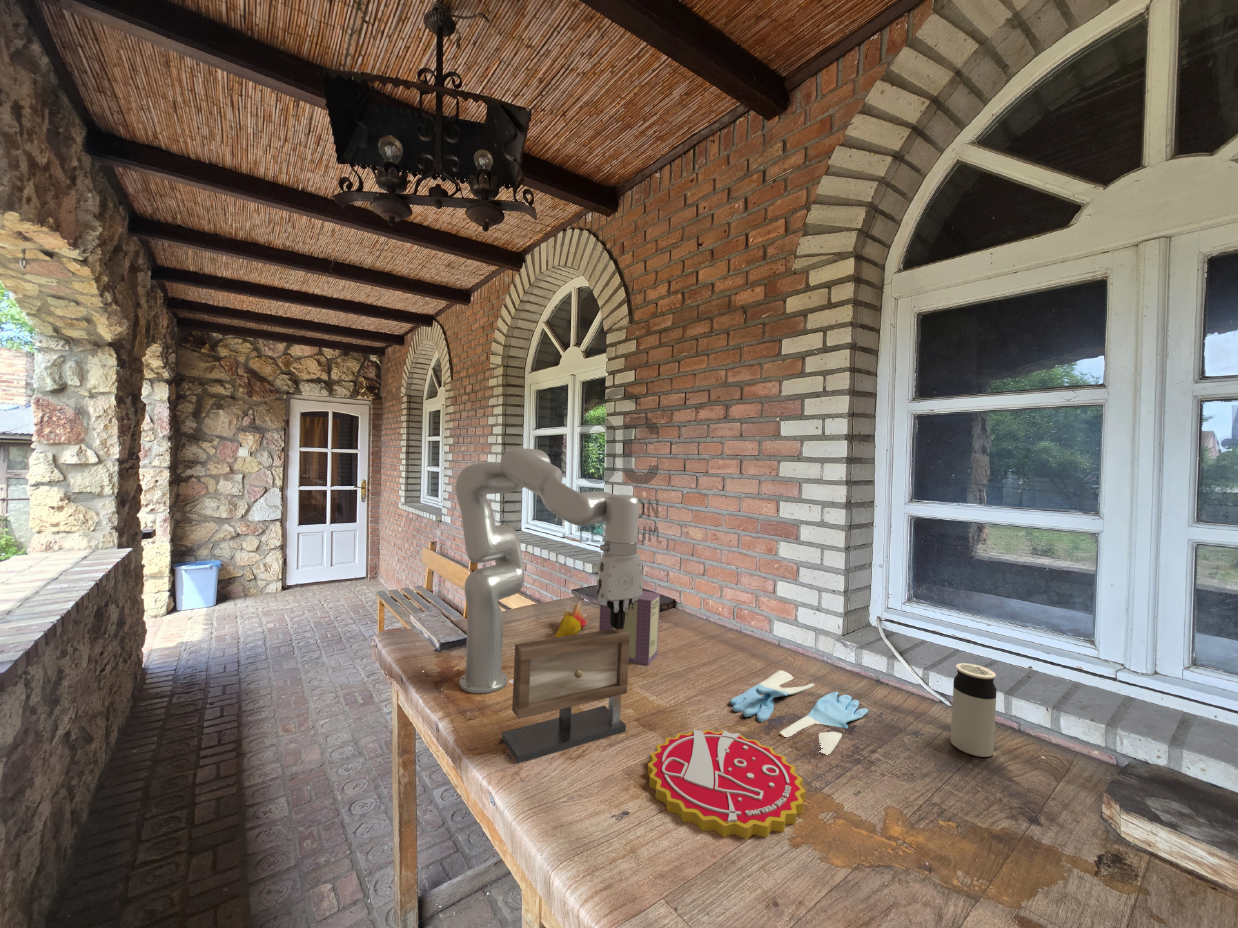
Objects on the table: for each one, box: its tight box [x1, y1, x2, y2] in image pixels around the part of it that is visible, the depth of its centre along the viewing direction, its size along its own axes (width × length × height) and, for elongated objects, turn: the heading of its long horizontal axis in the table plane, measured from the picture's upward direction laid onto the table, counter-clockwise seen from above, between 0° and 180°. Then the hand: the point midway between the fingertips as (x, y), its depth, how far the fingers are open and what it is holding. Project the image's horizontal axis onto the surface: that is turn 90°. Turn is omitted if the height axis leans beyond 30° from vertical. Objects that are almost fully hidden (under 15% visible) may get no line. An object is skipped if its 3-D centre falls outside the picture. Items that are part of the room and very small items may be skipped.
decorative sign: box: [647, 729, 806, 840], centre depth 100 cm, size 30×3×30 cm
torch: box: [554, 600, 590, 638], centre depth 175 cm, size 8×8×25 cm
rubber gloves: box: [729, 669, 869, 757], centre depth 130 cm, size 27×33×6 cm
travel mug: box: [950, 662, 997, 758], centre depth 115 cm, size 8×8×18 cm
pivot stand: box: [501, 695, 627, 764], centre depth 113 cm, size 10×26×16 cm, turn 121°
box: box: [598, 590, 661, 667], centre depth 160 cm, size 17×9×20 cm, turn 68°
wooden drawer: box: [511, 628, 630, 720], centre depth 110 cm, size 5×26×14 cm, turn 121°
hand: (617, 627), depth 116 cm, fingers closed
